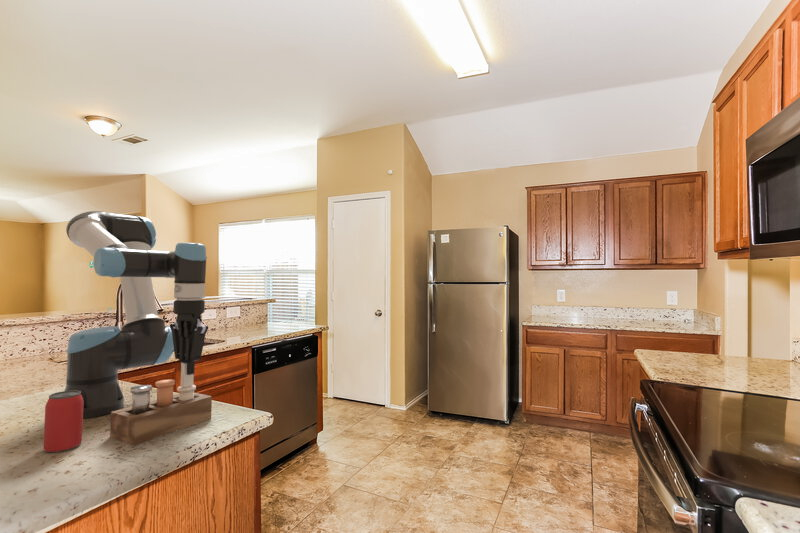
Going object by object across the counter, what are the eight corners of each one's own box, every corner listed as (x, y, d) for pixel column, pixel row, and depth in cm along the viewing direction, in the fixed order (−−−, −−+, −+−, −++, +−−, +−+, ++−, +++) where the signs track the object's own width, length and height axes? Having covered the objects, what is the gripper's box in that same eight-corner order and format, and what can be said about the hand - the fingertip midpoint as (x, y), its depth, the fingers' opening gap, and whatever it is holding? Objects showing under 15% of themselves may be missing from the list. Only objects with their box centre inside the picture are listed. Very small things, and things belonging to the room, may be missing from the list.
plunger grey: (125, 416, 94) (126, 388, 94) (144, 411, 98) (145, 384, 98) (136, 419, 92) (137, 390, 93) (155, 414, 96) (156, 386, 96)
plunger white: (173, 413, 105) (173, 387, 105) (188, 408, 109) (188, 383, 109) (183, 415, 103) (184, 389, 103) (198, 410, 107) (199, 385, 107)
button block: (109, 437, 94) (110, 412, 94) (187, 412, 112) (188, 391, 112) (134, 445, 89) (135, 419, 89) (211, 418, 107) (211, 396, 107)
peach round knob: (150, 409, 100) (151, 382, 100) (167, 404, 104) (168, 378, 104) (161, 412, 98) (162, 384, 98) (178, 407, 102) (179, 380, 102)
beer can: (59, 455, 84) (61, 399, 84) (35, 452, 85) (37, 396, 86) (89, 442, 90) (91, 390, 91) (66, 440, 92) (68, 388, 92)
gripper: (161, 299, 106) (158, 386, 106) (192, 300, 101) (189, 392, 100) (186, 298, 113) (184, 380, 112) (217, 299, 107) (215, 385, 107)
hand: (186, 386), depth 106 cm, fingers closed
